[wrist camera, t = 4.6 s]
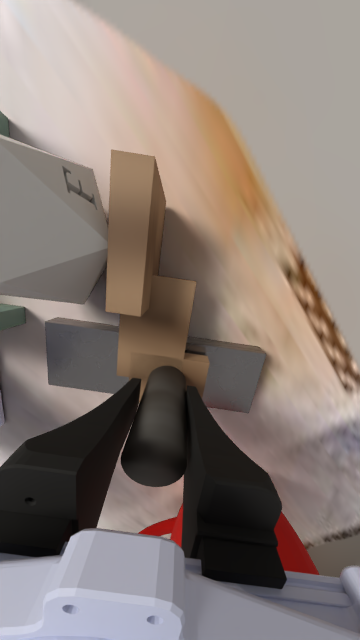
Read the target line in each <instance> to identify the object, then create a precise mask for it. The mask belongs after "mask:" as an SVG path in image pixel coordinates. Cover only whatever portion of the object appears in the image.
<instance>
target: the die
mask: <svg viewBox="0 0 360 640" xmlns="http://www.w3.org/2000/svg"><path fill="white" fill-rule="evenodd" d="M107 254H108V224H107V221H106V217H105V213H104V209H103V206H102V202H101V198H100V195H99V191H98V187H97V183H96V180H95V176H94V172H93V169H91V168H88V167H85V166H83V165H80V164H77V163H75V162H72V161H69V160H67V159H64V158H61V157H59V156H56V155H53V154H51V153H48V152H45V151H43V150H40V149H38V148H35V147H32V146H30V145H27V144H24V143H22V142H19V141H16V140H14V139H11V138H8V137H6V136H3V135H0V295H9V296H17V297H25V298H34V299H42V300H51V301H59V302H67V303H76V304H85V302H86V300H87V299H88V297H89V295H90V293H91V292H92V290H93V288H94V286H95V285H96V283H97V281H98V279H99V278H100V276H101V274H102V272H103V271H104V269H105V267H106V265H107Z"/></svg>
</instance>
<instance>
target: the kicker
mask: <svg viewBox="0 0 360 640" xmlns="http://www.w3.org/2000/svg"><path fill="white" fill-rule="evenodd" d="M165 207H166V199H165V195H164V191H163V187H162V183H161V179H160V175H159V171H158V167H157V163H156V159H155V157H154V156H148V155H142V154H136V153H129V152H123V151H117V150H111V170H110V198H109V226H108V254H107V283H106V312H112V313H119V314H120V324H119V341H118V359H117V376H124V377H129V381H130V380H131V379H132V378H139V379H141V388H140V398H139V402H140V403H139V406H138V409H137V412H136V415H135V418H134V420H133V423H132V426H131V429H130V432H129V435H128V438H127V440H126V443H125V446H124V449H123V452H122V455H121V465H122V468H123V470H124V472H125V473H126V474H127V475H128V476H129V477H130V478H131V479H132V480H134V481H135V482H137V483H139V484H142V485H145V486H150V487H162V486H167V485H170V484H172V483H174V482H176V481H178V480H179V479H180V478H181V477H182V476H183V474H184V473H185V471H186V468H187V431H186V389H187V385H188V386H195V387H196V388H197V390H198V392H199V394H200V396H201V398H202V397H203V392H204V388H205V383H206V378H207V373H208V369H209V364H210V363H209V359H208V356H204V355H197V354H190V353H185V348H186V342H187V336H188V330H189V324H190V318H191V312H192V306H193V300H194V294H195V288H196V281H190V280H184V279H177V278H171V277H164V276H158V271H159V262H160V253H161V244H162V235H163V226H164V217H165Z"/></svg>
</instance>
